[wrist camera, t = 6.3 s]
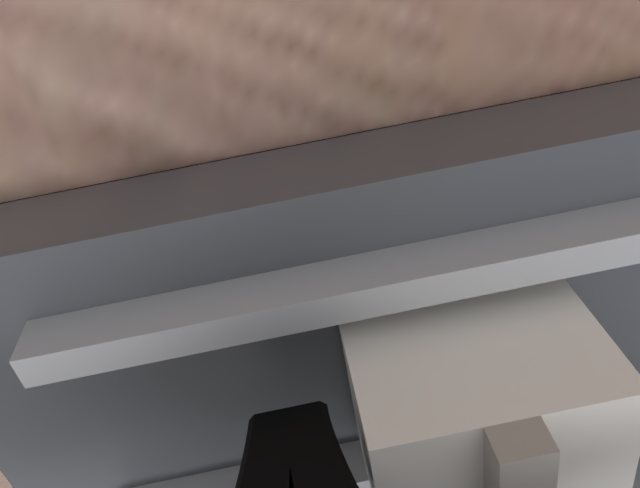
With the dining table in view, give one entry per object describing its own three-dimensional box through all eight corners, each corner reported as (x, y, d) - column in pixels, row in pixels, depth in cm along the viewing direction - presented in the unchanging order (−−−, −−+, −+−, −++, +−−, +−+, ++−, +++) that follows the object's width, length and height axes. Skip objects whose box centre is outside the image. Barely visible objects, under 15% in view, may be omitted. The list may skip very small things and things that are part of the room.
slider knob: (555, 267, 11) (681, 426, 8) (545, 397, 13) (643, 565, 10) (335, 312, 11) (377, 489, 8) (358, 435, 13) (399, 617, 10)
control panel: (960, 14, 12) (1258, 79, 8) (770, 466, 19) (884, 594, 16) (-81, 219, 11) (-213, 375, 8) (152, 597, 19) (136, 756, 16)
